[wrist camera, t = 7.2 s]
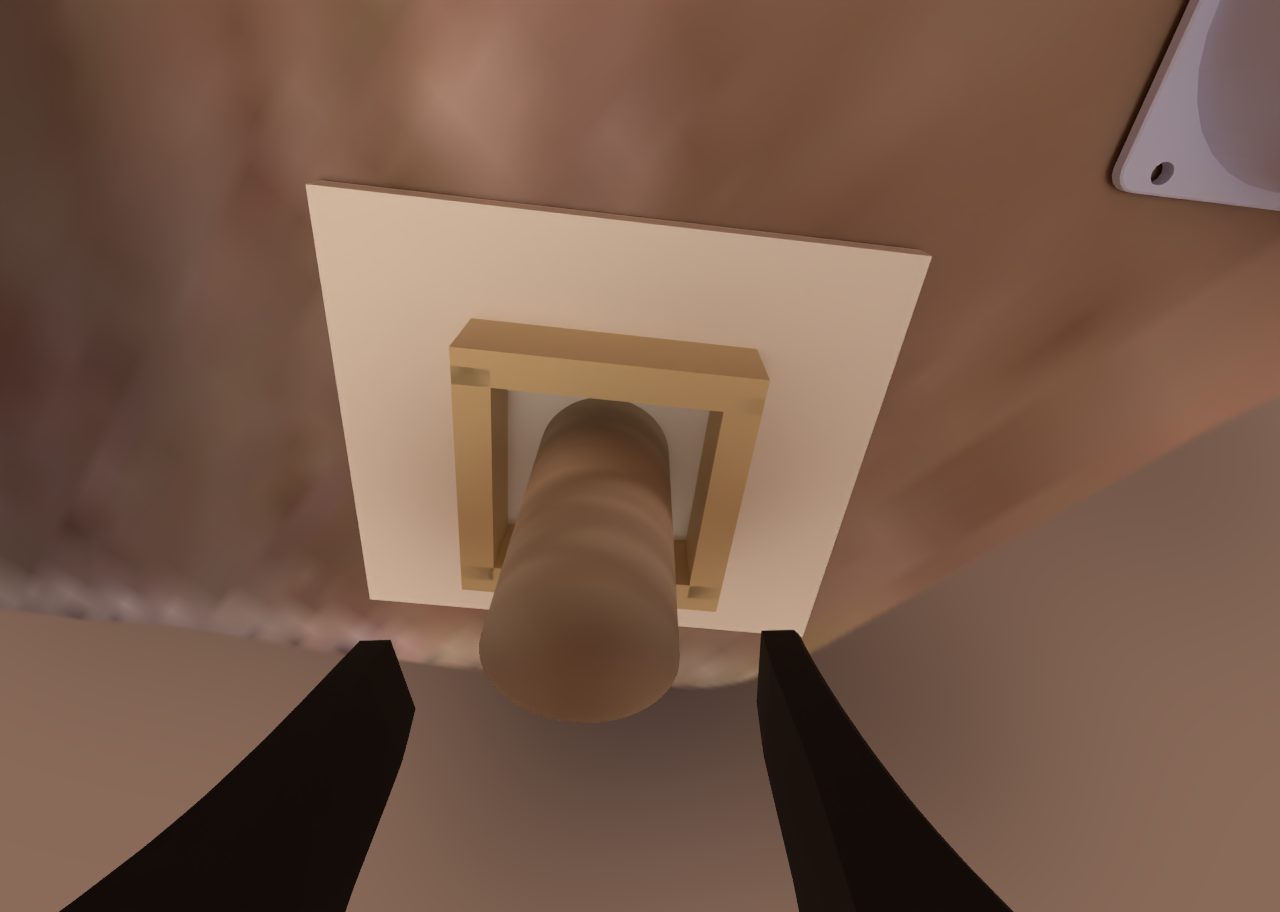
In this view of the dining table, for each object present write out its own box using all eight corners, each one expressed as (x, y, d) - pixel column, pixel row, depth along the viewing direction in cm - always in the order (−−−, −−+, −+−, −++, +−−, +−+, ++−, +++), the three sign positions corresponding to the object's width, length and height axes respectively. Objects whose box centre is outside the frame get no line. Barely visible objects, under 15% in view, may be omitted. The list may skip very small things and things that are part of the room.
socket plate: (920, 249, 17) (969, 278, 14) (798, 621, 24) (816, 685, 21) (320, 179, 16) (257, 197, 13) (378, 584, 23) (344, 645, 21)
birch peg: (666, 394, 18) (677, 579, 11) (670, 505, 20) (681, 721, 13) (531, 399, 18) (460, 586, 11) (548, 510, 20) (497, 724, 13)
